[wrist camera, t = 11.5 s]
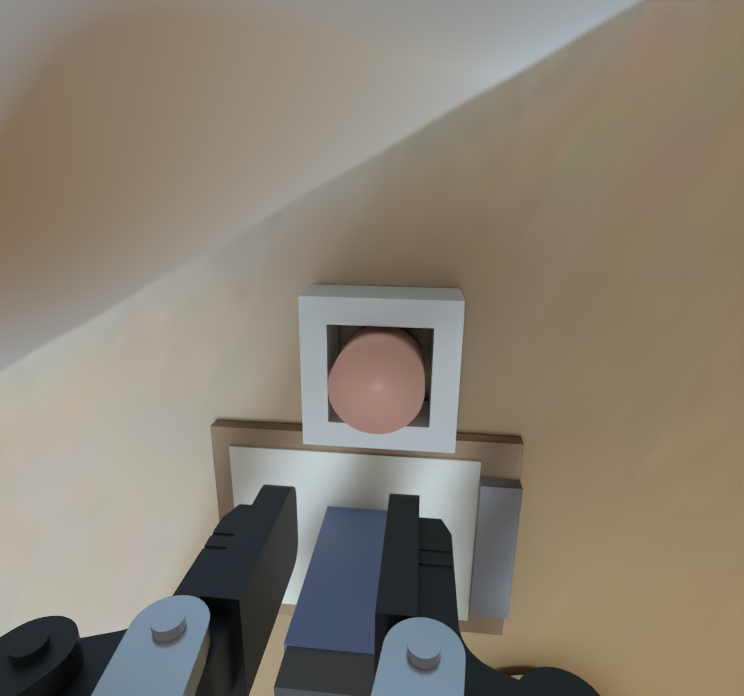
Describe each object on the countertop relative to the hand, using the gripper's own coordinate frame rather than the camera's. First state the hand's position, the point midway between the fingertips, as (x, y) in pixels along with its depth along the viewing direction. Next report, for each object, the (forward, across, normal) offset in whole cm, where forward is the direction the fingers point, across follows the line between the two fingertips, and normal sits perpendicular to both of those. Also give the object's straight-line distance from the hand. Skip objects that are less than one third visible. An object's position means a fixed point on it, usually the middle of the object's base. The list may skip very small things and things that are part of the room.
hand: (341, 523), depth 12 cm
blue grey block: (+12, +1, +10) cm, 16 cm away
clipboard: (+13, +1, +10) cm, 16 cm away
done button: (+12, 0, 0) cm, 12 cm away
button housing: (+13, 0, 0) cm, 13 cm away
